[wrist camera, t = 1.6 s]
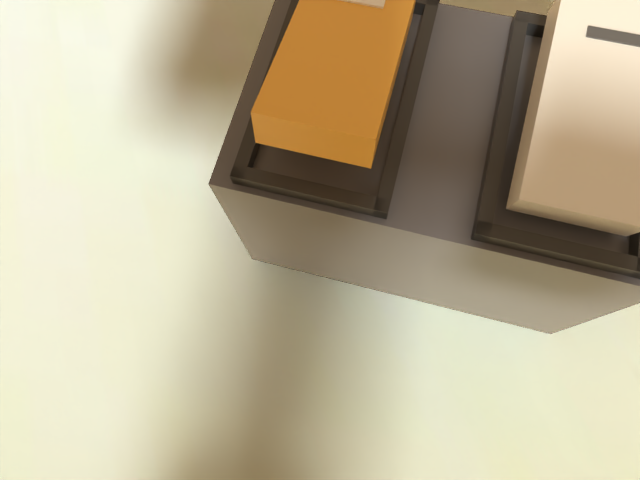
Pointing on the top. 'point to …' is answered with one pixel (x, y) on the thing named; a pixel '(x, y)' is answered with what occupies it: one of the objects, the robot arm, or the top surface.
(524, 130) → the white rocker
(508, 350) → the top surface
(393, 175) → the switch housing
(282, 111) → the amber rocker
